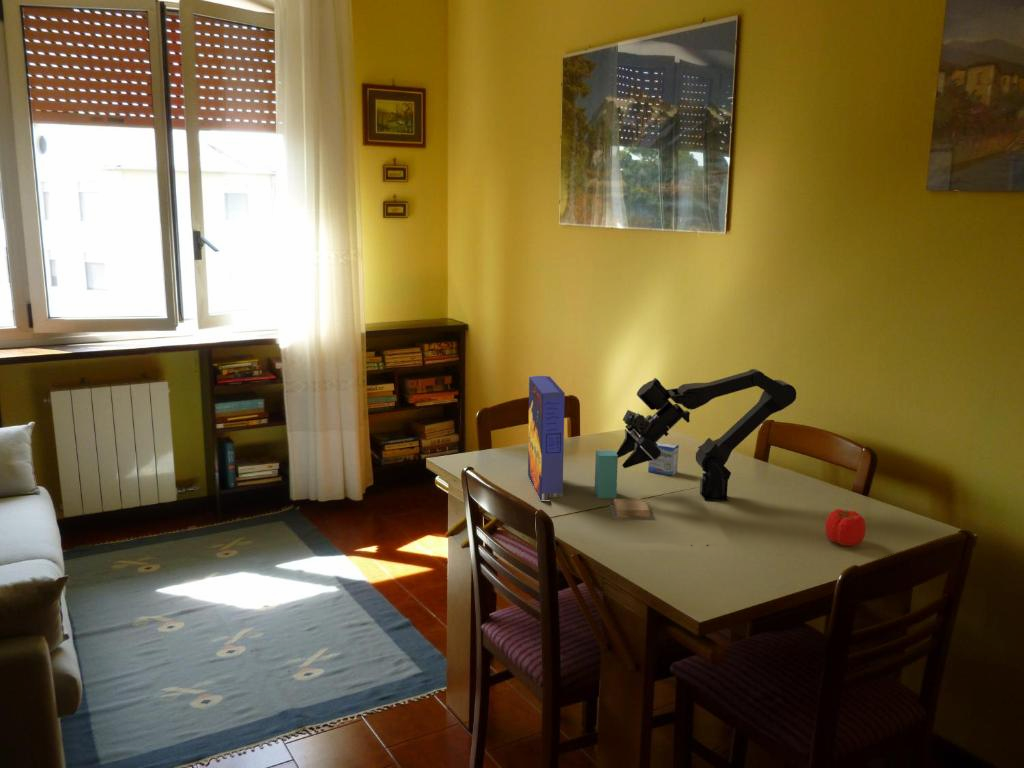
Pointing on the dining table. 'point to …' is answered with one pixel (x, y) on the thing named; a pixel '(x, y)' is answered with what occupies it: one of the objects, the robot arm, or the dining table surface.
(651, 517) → the base slab
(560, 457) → the cereal box
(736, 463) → the dining table surface
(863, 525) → the tomato
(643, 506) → the top slab
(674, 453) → the medicine box
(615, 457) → the pillar
